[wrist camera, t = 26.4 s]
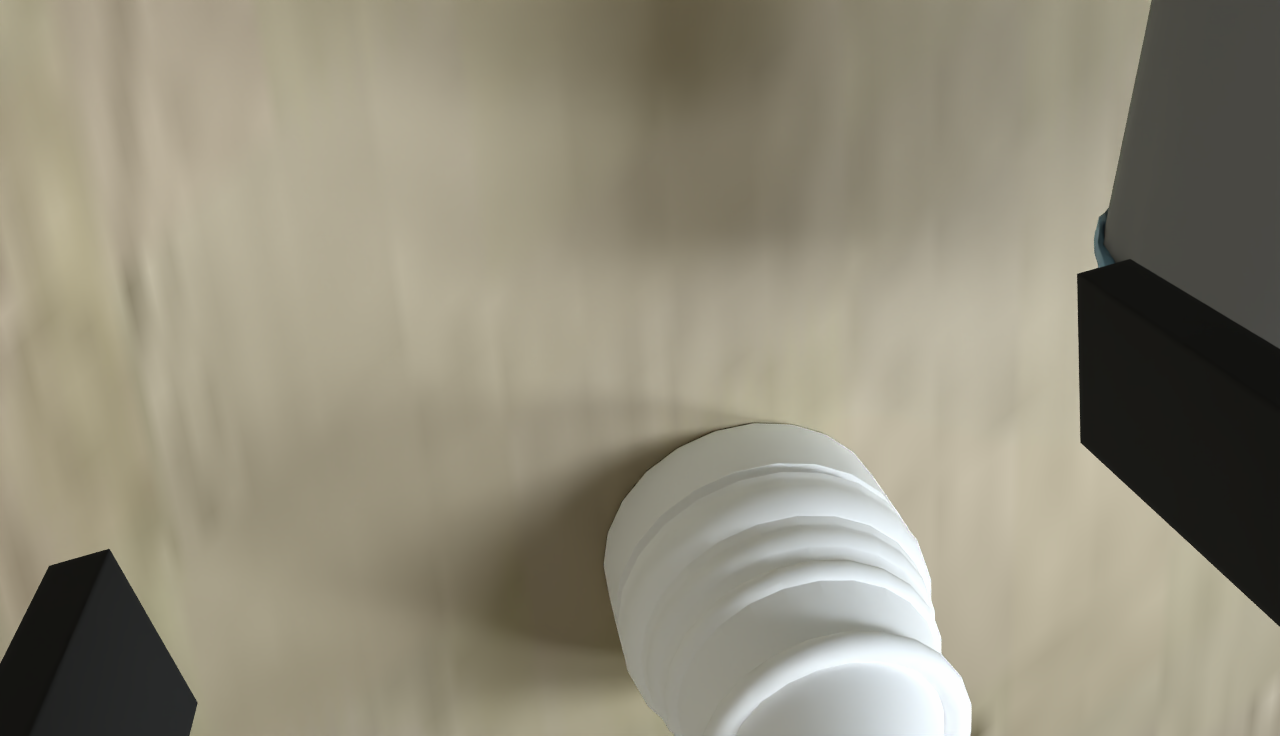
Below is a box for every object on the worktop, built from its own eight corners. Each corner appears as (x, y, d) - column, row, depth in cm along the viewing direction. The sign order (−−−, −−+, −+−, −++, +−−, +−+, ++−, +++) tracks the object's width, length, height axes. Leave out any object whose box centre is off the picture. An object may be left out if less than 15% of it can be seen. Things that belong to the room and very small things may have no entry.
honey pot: (830, 671, 52) (1008, 1042, 36) (573, 649, 48) (645, 1048, 33) (925, 444, 47) (1181, 759, 31) (646, 402, 43) (774, 731, 28)
